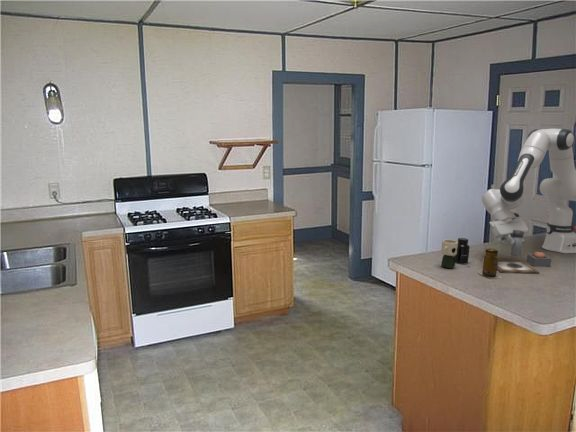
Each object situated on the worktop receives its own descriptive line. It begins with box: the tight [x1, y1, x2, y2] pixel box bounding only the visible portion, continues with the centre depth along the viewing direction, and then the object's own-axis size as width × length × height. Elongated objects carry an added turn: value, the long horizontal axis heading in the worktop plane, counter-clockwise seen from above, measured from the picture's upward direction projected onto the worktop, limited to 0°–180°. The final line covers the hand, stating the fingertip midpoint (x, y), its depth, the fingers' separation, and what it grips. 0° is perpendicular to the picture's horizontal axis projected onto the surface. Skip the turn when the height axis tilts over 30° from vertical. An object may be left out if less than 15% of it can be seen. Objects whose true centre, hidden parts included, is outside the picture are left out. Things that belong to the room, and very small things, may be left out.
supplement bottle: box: [454, 237, 471, 265], centre depth 238 cm, size 7×7×12 cm
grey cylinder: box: [510, 230, 525, 258], centre depth 228 cm, size 5×5×12 cm
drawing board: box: [497, 260, 540, 275], centre depth 230 cm, size 18×16×1 cm
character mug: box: [440, 238, 458, 269], centre depth 229 cm, size 11×7×13 cm, turn 139°
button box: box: [525, 253, 552, 268], centre depth 237 cm, size 8×8×4 cm
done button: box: [533, 251, 545, 258], centre depth 237 cm, size 4×4×3 cm
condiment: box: [478, 248, 504, 279], centre depth 218 cm, size 7×8×12 cm
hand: (518, 242), depth 227 cm, fingers closed on grey cylinder, 4 cm apart
